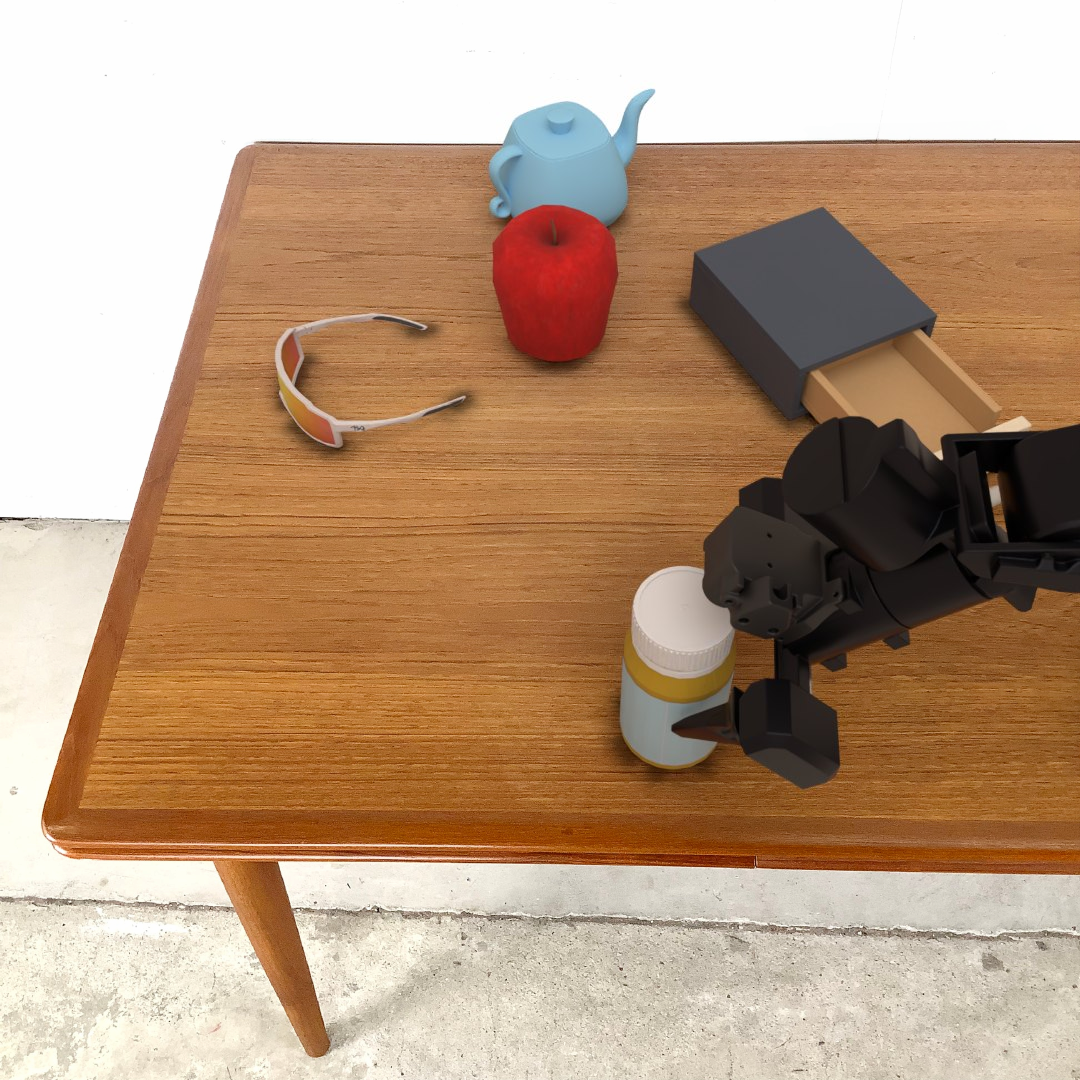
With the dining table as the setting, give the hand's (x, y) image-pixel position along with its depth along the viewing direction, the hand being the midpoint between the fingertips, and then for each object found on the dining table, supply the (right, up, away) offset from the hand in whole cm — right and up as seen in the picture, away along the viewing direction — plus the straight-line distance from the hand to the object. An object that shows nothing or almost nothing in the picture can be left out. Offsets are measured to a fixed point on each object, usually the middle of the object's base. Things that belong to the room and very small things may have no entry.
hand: (677, 666), depth 71 cm
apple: (-7, +26, +30) cm, 40 cm away
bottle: (0, -5, +7) cm, 8 cm away
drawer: (+21, +16, +21) cm, 34 cm away
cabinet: (+15, +26, +30) cm, 42 cm away
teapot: (-6, +42, +42) cm, 60 cm away
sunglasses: (-24, +21, +28) cm, 42 cm away
